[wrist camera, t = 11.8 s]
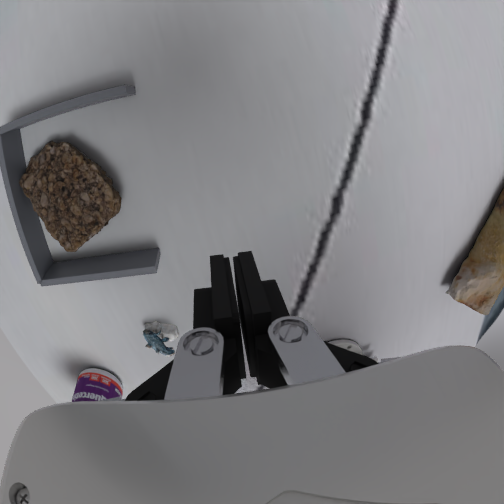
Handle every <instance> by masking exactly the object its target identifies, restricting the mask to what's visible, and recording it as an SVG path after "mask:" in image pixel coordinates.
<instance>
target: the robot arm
mask: <svg viewBox="0 0 504 504" xmlns="http://www.w3.org/2000/svg"><path fill="white" fill-rule="evenodd" d="M233 262H234V272H235V282H236V292H237V301H238V306H237V301H236V295H235V289H234V284H233V278H232V272H231V266H230V261H229V257H227V258H224V256H223V255H214V256H210V267H211V285H212V287H211V288H202V289H195V290H194V321H193V330H190V331H188V332H187V333H185V334H184V335H183V336H182V337H181V338H180V340H179V343H178V346H177V350H176V354H175V358H174V360H172V361H171V362H170V363H169V364H167V365H166V366H165V367H163V368H162V369H161V370H160V371H158V372H157V373H156V374H154V375H153V376H152V377H150V378H149V379H148V380H146V381H145V382H144V383H143V384H141V385H140V386H139V387H137V388H136V389H135V390H133V391H132V392H131V393H130V394H129V395H128V396H127V398H126V399H122V400H121V399H120V397H116V398H110V399H105V400H99V401H80V402H67V403H61V404H54V405H51V406H47V407H44V408H41V409H38V410H36V411H34V412H32V413H30V414H29V415H28V416H27V417H25V419H24V420H23V421H22V423H21V424H20V426H19V428H18V430H17V432H16V434H15V436H14V439H13V441H12V444H11V447H10V450H9V453H8V456H7V460H6V464H5V467H4V472H3V476H2V480H1V486H0V504H504V371H503V370H502V368H501V367H500V366H499V365H498V364H497V363H496V362H495V361H494V360H493V359H492V358H490V356H488V355H487V354H486V353H484V352H483V351H481V350H480V349H477V348H475V347H470V346H444V347H437V348H433V349H429V350H424V351H421V352H418V353H414V354H411V355H407V356H404V357H397V358H387V359H381V362H378V359H377V357H372V358H369V357H366V356H364V355H363V353H362V350H361V348H360V346H359V345H358V344H357V343H356V342H354V341H351V340H335V341H330V342H325V341H323V340H322V339H321V337H320V336H319V335H318V333H317V332H316V330H315V329H314V328H313V326H312V325H311V324H310V323H309V322H308V321H307V320H305V319H303V318H300V317H296V316H290V315H289V312H288V310H287V307H286V305H285V302H284V300H283V297H282V295H281V292H280V290H279V288H278V285H277V283H276V281H275V280H267V281H261V279H260V276H259V273H258V270H257V267H256V264H255V261H254V257H253V254H252V252H251V251H248V252H239V253H238V256H235V257H233ZM238 311H239V312H238ZM239 318H240V319H239ZM240 323H241V327H240ZM241 329H242V334H243V339H244V345H245V350H246V355H247V361H248V366H249V371H250V376H251V377H256V378H257V382H258V385H260V384H262V385H264V386H266V387H268V388H270V389H264V390H258V391H251V392H244V393H236V394H234V393H235V392H236V391H237V390H238V389H239V388H240V387H241V386H242V385H241V379H244V378H246V372H245V363H244V354H243V345H242V336H241Z"/></svg>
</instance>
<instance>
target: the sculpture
mask: <svg viewBox="0 0 504 504" xmlns="http://www.w3.org/2000/svg"><path fill="white" fill-rule="evenodd" d="M143 335H144V337H145V339H146V341H147V342H148V344H147V345H146V348H153V349H154V350H156V353H157V354H159V352H160V353H161V354H163V355H165V356H166V357H170V356H172V355H174V354H175V351H174V350H172V349H173V348H172V347H170V348H168V347H166V346H165V345H164V343H163V342H167V341H168V340H169V341H174V340H175V338H178V336H179V333H178V331H177V327H176V326H175V325H172V324H161V323H159V322H156V321H154V322H153V323H146V324H145V330H144V331H143ZM158 336H159V337H158ZM160 337H161V338H162V339H161V338H160Z"/></svg>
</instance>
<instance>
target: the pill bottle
mask: <svg viewBox="0 0 504 504" xmlns="http://www.w3.org/2000/svg"><path fill="white" fill-rule="evenodd" d="M122 392H123V387H122V384H121V383H120V381H119V380H118V379H117V378H116V377H115V376H114V375H112V374H111V373H109V372H107V371H105V370H101V369H96V368H89V369H85V370H83V371H82V372H81V373H80V374H79V377H78V380H77V384H76V387H75V391H74V395H73V399H72V402H80V401H99V400H105V399H110V398H116V397H120V399H122Z"/></svg>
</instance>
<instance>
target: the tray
mask: <svg viewBox="0 0 504 504" xmlns="http://www.w3.org/2000/svg"><path fill="white" fill-rule="evenodd" d="M131 95H135V87H133V86H128V85H122V86H117V87H113V88H109V89H105V90H101V91H97V92H94V93H90V94H87V95H83V96H80V97H77V98H73V99H70V100H67V101H64V102H61V103H58V104H55V105H52V106H49V107H47V108H44V109H41V110H39V111H36V112H33V113H31V114H28V115H26V116H23V117H21V118H19V119H16V120H14V121H12V122H10V123H7V124H5V125H3V126H1V127H0V167H1V172H2V176H3V181H4V185H5V189H6V193H7V197H8V201H9V204H10V208H11V211H12V215H13V218H14V221H15V225H16V228H17V231H18V234H19V237H20V240H21V242H22V245H23V248H24V251H25V253H26V256H27V259H28V261H29V264H30V266H31V269H32V271H33V274H34V276H35V278H36V281H37V283H38V284H41V286H49V285H58V284H67V283H76V282H84V281H93V280H102V279H110V278H119V277H127V276H135V275H144V274H152V273H157V269H158V264H159V259H160V250H159V248H155V249H147V250H140V251H133V252H125V253H118V254H111V255H104V256H96V257H89V258H82V259H75V260H69V261H62V262H55V263H54V262H53V259H52V257H51V254H50V251H49V248H48V245H47V242H46V239H45V236H44V233H43V230H42V227H41V224H40V220H39V217H38V214H37V212H35V211H34V209H33V205H32V202H31V201H30V199H29V198H28V197H27V196H26V195H25V194H24V192H23V189H22V188H21V187H20V184H19V181H20V179H21V176H22V175H23V174H24V173H26V164H25V159H24V153H23V148H22V141H21V135H20V129H21V128H23V127H26V126H29V125H31V124H34V123H36V122H39V121H42V120H45V119H48V118H50V117H53V116H56V115H59V114H62V113H66V112H69V111H72V110H75V109H79V108H82V107H86V106H89V105H93V104H97V103H101V102H104V101H109V100H113V99H117V98H121V97H126V96H131Z"/></svg>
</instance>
